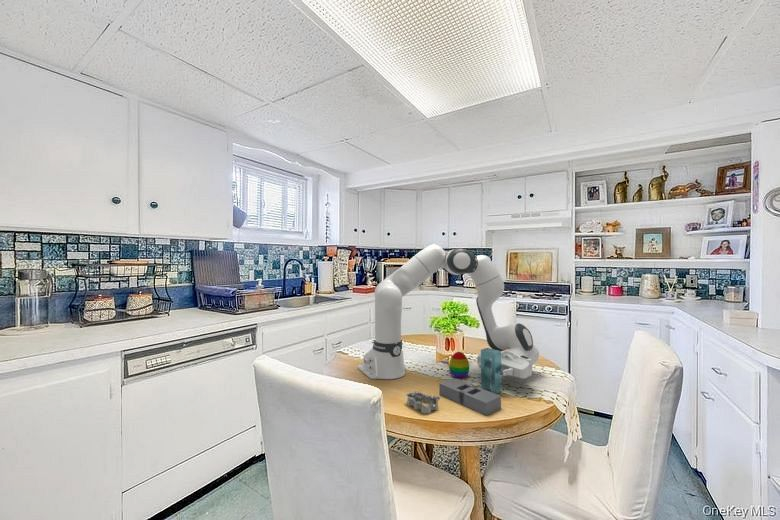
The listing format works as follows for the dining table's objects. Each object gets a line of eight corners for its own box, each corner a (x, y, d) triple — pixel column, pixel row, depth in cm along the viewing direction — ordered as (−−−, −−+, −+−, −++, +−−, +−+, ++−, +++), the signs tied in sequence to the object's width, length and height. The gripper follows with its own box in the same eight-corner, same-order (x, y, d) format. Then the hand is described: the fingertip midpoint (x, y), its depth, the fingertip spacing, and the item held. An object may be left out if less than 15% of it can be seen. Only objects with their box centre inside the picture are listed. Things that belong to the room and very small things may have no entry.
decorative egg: (469, 380, 131) (469, 355, 131) (448, 378, 133) (448, 354, 133) (469, 373, 139) (469, 349, 139) (449, 371, 141) (449, 348, 141)
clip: (480, 389, 123) (480, 349, 122) (487, 386, 125) (487, 347, 125) (494, 394, 118) (494, 353, 118) (501, 391, 120) (501, 351, 120)
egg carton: (441, 409, 108) (441, 397, 108) (424, 416, 104) (424, 403, 103) (420, 398, 117) (420, 386, 116) (403, 403, 112) (403, 391, 112)
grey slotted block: (439, 394, 119) (439, 383, 119) (454, 388, 124) (454, 378, 124) (486, 415, 103) (486, 403, 103) (501, 407, 108) (500, 395, 108)
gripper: (488, 347, 138) (467, 354, 129) (535, 360, 122) (515, 368, 113) (488, 362, 138) (467, 370, 130) (535, 377, 122) (515, 386, 114)
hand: (490, 369), depth 121 cm, fingers open, 8 cm apart
